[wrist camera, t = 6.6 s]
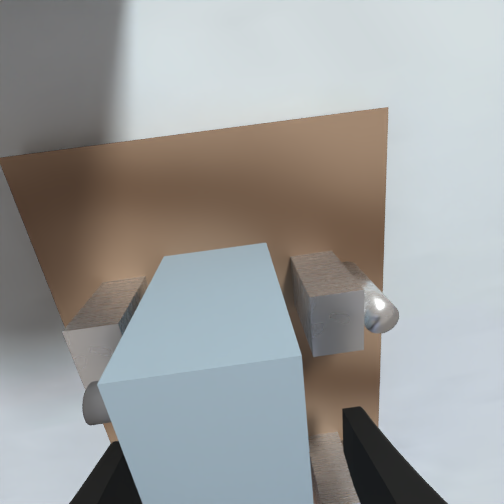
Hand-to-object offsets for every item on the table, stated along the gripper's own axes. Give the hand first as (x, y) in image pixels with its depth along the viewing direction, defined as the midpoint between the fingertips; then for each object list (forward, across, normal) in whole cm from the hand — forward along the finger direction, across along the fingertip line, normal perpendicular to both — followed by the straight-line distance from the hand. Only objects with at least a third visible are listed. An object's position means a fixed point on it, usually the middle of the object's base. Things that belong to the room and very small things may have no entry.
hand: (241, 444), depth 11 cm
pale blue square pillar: (+3, 0, 0) cm, 3 cm away
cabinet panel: (+4, 0, 0) cm, 4 cm away
